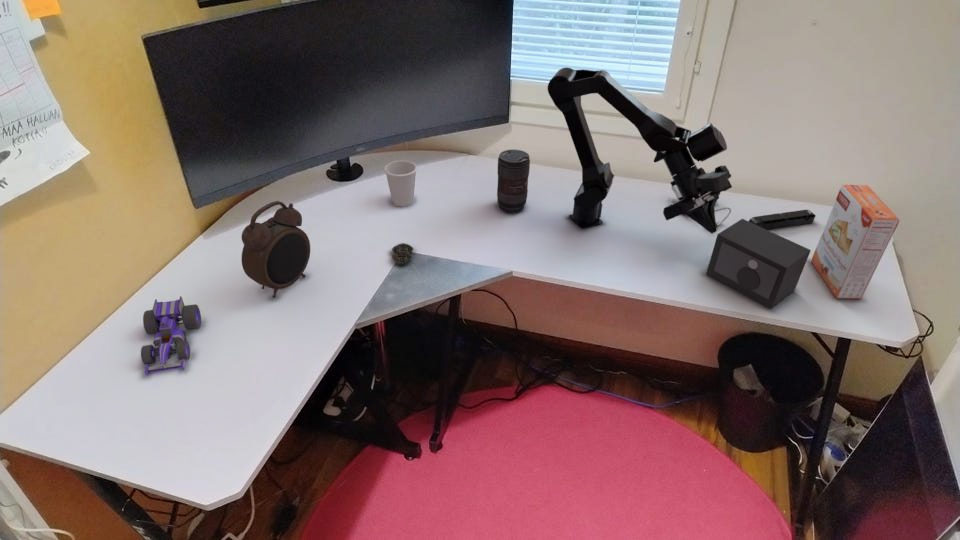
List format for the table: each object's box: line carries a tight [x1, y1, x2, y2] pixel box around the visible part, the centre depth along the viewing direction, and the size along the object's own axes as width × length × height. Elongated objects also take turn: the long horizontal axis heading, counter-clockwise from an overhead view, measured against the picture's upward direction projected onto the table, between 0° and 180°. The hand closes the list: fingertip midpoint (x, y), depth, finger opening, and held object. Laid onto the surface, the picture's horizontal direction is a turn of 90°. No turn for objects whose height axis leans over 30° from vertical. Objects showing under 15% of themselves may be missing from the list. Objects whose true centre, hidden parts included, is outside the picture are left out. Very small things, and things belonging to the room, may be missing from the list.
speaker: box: [705, 218, 811, 310], centre depth 135 cm, size 16×10×11 cm, turn 40°
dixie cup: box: [384, 159, 418, 207], centre depth 162 cm, size 8×8×10 cm
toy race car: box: [140, 295, 202, 376], centre depth 118 cm, size 10×15×6 cm, turn 13°
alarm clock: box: [241, 200, 311, 299], centre depth 130 cm, size 15×7×20 cm, turn 148°
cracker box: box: [810, 184, 901, 300], centre depth 133 cm, size 14×6×21 cm, turn 178°
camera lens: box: [496, 149, 531, 214], centre depth 159 cm, size 8×8×15 cm
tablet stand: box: [748, 209, 817, 231], centre depth 157 cm, size 18×3×3 cm, turn 104°
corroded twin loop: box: [391, 242, 414, 265], centre depth 144 cm, size 5×8×1 cm, turn 3°
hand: (714, 232), depth 140 cm, fingers closed
